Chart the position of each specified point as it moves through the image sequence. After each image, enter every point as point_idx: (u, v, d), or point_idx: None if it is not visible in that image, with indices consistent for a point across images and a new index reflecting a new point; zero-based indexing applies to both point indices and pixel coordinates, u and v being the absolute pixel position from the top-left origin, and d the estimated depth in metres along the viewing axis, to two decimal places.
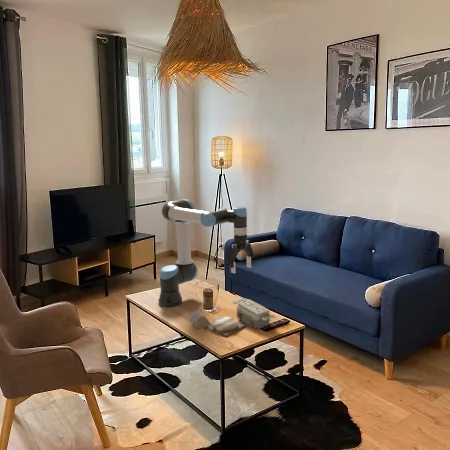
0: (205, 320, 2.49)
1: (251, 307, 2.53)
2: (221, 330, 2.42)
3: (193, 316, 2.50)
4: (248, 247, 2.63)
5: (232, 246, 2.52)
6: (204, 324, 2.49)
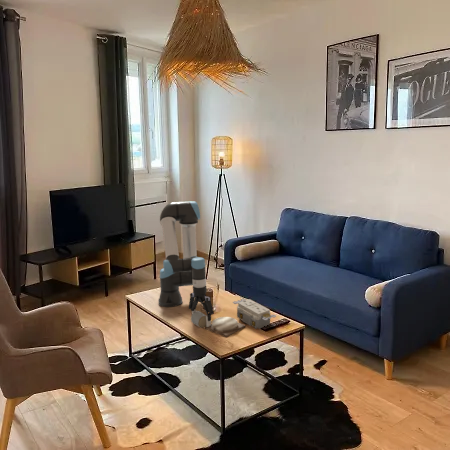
0: None
1: (251, 307, 2.53)
2: (221, 330, 2.42)
3: (194, 316, 2.50)
4: None
5: None
6: (205, 324, 2.50)
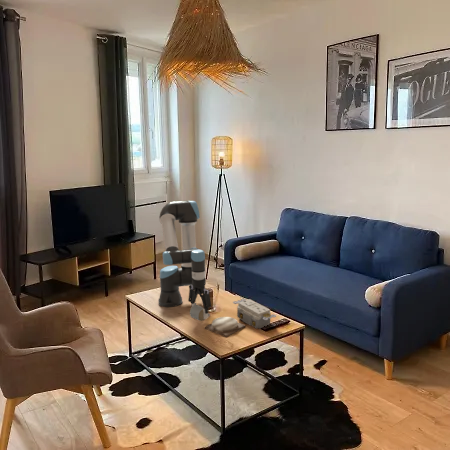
0: None
1: (252, 307, 2.53)
2: (221, 330, 2.42)
3: (194, 309, 2.50)
4: None
5: None
6: None
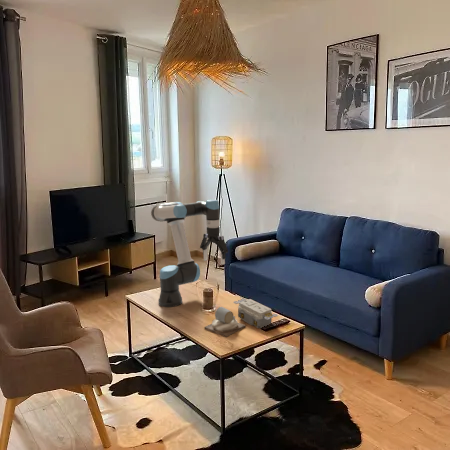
0: (232, 315, 2.46)
1: (253, 306, 2.53)
2: (221, 330, 2.42)
3: (219, 311, 2.46)
4: None
5: None
6: (231, 319, 2.46)
